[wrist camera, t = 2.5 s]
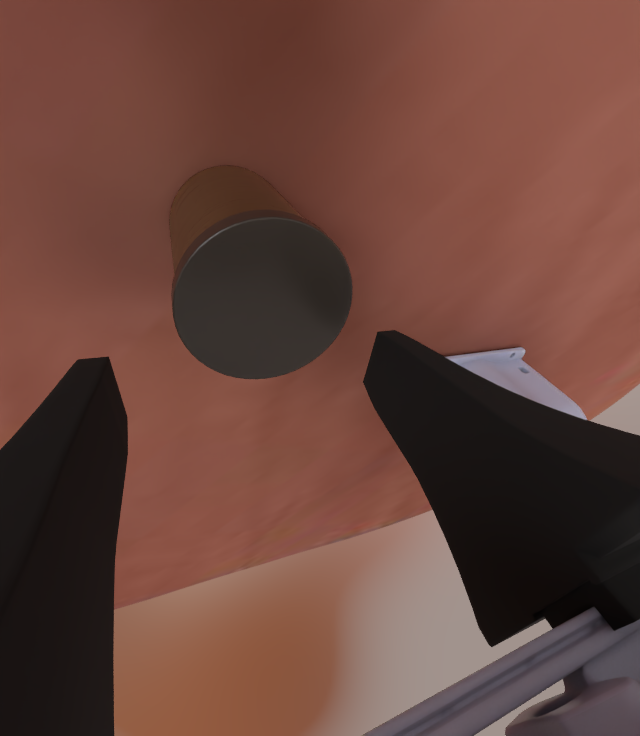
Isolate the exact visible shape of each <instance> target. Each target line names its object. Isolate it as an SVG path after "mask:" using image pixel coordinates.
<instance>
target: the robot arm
mask: <svg viewBox="0 0 640 736" xmlns="http://www.w3.org/2000/svg"><path fill="white" fill-rule="evenodd" d="M524 354H525V349H524V348H522V347H518V348H511V349H503V350H495V351H487V352H479V353H471V354H463V355H456V356H448V357H444V356H442V355H440V354H439V353H437V352H435V351H433V350H432V349H430V348H428V347H426V346H424V345H423V344H421V343H419V342H417V341H415V340H414V339H412V338H410V337H408V336H406V335H404V334H402V333H400V332H397V331H395V330H392V331H381V332H377V336H376V339H375V343H374V346H373V349H372V353H371V356H370V360H369V363H368V367H367V370H366V374H365V377H364V381H363V383H364V385H365V388H366V390H367V392H368V395H369V397H370V399H371V401H372V404H373V406H374V408H375V410H376V412H377V413H378V415H379V417H380V418H381V420H382V421H383V423H384V425H385V426H386V428H387V430H388V431H389V433H390V434H391V436H392V438H393V439H394V441H395V442H396V444H397V445H398V447H399V449H400V450H401V452H402V453H403V455H404V457H405V458H406V460H407V461H408V463H409V465H410V466H411V468H412V470H413V471H414V473H415V475H416V477H417V478H418V480H419V482H420V484H421V486H422V489H423V491H424V493H425V495H426V497H427V499H428V501H429V503H430V505H431V507H432V509H433V511H434V513H435V516H436V518H437V520H438V522H439V525H440V527H441V529H442V531H443V533H444V536H445V538H446V540H447V543H448V545H449V548H450V550H451V552H452V555H453V558H454V560H455V562H456V565H457V567H458V570H459V572H460V575H461V578H462V580H463V583H464V586H465V589H466V592H467V594H468V597H469V600H470V603H471V605H472V608H473V611H474V614H475V617H476V620H477V623H478V626H479V628H480V630H481V631H482V634H483V635H484V637H485V639H486V641H487V642H488V644H489V645H490V646H491V647H493V646H495V645H497V644H498V643H500V642H502V641H504V640H506V639H508V638H510V637H512V636H513V635H515V634H517V633H519V632H521V631H523V630H524V629H527V628H528V627H530V626H532V625H534V624H536V623H538V622H539V621H541V620H543V619H545V618H546V620H547V621H548V622H549V624H550V625H551V627H552V628H553V629H552V630H550V631H548V632H547V633H545V634H543V635H541V636H540V637H538V638H536V639H534V640H532V641H530V642H528V643H527V644H525V645H523V646H521V647H519V648H518V649H516V650H514V651H512V652H511V653H509V654H507V655H505V656H503V657H502V658H500V659H498V660H496V661H495V662H493V663H491V664H489V665H487V666H485V667H484V668H482V669H480V670H478V671H476V672H475V673H473V674H471V675H469V676H468V677H466V678H464V679H462V680H460V681H459V682H457V683H455V684H453V685H451V686H450V687H448V688H446V689H444V690H442V691H441V692H439V693H437V694H435V695H434V696H432V697H430V698H428V699H426V700H424V701H423V702H421V703H419V704H417V705H415V706H414V707H412V708H410V709H408V710H406V711H405V712H403V713H401V714H399V715H397V716H396V717H394V718H392V719H390V720H389V721H387V722H385V723H383V724H382V725H380V726H378V727H376V728H374V729H372V730H371V731H369V732H367V733H365V734H363V735H362V736H474V735H475V734H477V733H478V732H480V731H481V730H483V729H485V728H486V727H488V726H489V725H491V724H492V723H494V722H495V721H497V720H499V719H500V718H502V717H503V716H505V715H506V714H508V713H509V712H511V711H513V710H514V709H516V708H517V707H519V706H521V705H522V704H524V703H525V702H527V701H528V700H530V699H531V698H533V697H535V696H536V695H538V694H539V693H541V692H542V691H544V690H546V689H547V688H549V687H550V686H552V685H553V684H555V683H556V682H558V681H560V680H561V679H563V681H564V685H565V692H564V693H562V694H559V695H557V696H554V697H552V698H549V699H547V700H544V701H542V702H539V703H537V704H535V705H533V706H531V707H529V708H528V709H526V710H524V711H523V712H522V713H521V714H519V715H518V716H517V717H516V718H515V719H514V720H513V721H512V722H511V723H510V724H509V725H508V726H507V727H506V731H505V735H506V736H640V436H639V435H635V434H631V433H628V432H624V431H621V430H617V429H614V428H611V427H607V426H604V425H600V424H597V423H594V422H591V421H588V420H587V419H586V416H585V415H584V413H583V411H582V410H581V409H580V407H579V406H578V405H577V404H576V403H575V402H574V401H573V400H571V399H570V398H569V397H568V396H566V395H565V394H564V393H563V392H561V391H560V390H559V389H558V388H556V387H555V386H554V385H553V384H551V383H550V382H549V381H548V380H546V379H545V378H544V377H543V376H542V375H540V374H539V373H538V372H537V371H535V370H534V369H533V368H532V367H530V366H529V365H528V364H527V363H525V362H524V361H523V360H522V357H523V355H524ZM127 456H128V427H127V414H126V411H125V408H124V405H123V401H122V398H121V395H120V392H119V388H118V385H117V382H116V379H115V376H114V372H113V369H112V366H111V363H110V359H109V357H100V358H89V359H79V360H77V361H76V362H75V363H74V364H73V366H72V367H71V368H70V369H69V370H68V372H67V373H66V374H65V375H64V377H63V378H62V379H61V380H60V382H59V383H58V384H57V385H56V387H55V388H54V389H53V390H52V392H51V393H50V394H49V395H48V396H47V398H46V399H45V400H44V401H43V402H42V404H41V405H40V406H39V407H38V408H37V409H36V411H35V412H34V413H33V414H32V415H31V416H30V418H29V419H28V420H27V421H26V422H25V423H24V424H23V426H22V427H21V428H20V429H19V430H18V431H17V432H16V434H15V435H14V436H13V437H12V438H11V439H10V440H9V441H8V442H7V443H6V444H5V445H4V446H3V447H2V448H1V450H0V736H114V701H113V700H114V691H113V690H114V689H113V686H114V685H113V632H114V631H113V627H114V572H115V554H116V542H117V534H118V527H119V519H120V511H121V504H122V496H123V488H124V480H125V472H126V464H127Z"/></svg>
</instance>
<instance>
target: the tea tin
mask: <svg viewBox="0 0 640 736" xmlns="http://www.w3.org/2000/svg"><path fill="white" fill-rule="evenodd" d="M169 225H170V237H171V246H172V256H173V265H174V279H173V283H172V309H173V318H174V322H175V327H176V329H177V332H178V334H179V337H180V338H181V340H182V342H183V343H184V345H185V346H186V348H187V349H188V350H189V351H190V353H191V354H192V355H193V356H194V357H196V358H197V359H198V360H199V361H200V362H201V363H203V364H204V365H206V366H207V367H209V368H211V369H213V370H215V371H217V372H219V373H222V374H224V375H227V376H232V377H236V378H243V379H266V378H272V377H277V376H281V375H284V374H287V373H290V372H292V371H295V370H297V369H299V368H301V367H303V366H305V365H307V364H308V363H310V362H311V361H313V360H314V359H316V358H317V357H318V356H319V355H321V354H322V353H323V352H324V351H325V350H326V349H327V348H328V347H329V346H330V345H331V344H332V342H333V341H334V340H335V339H336V337H337V336H338V334H339V333H340V331H341V329H342V328H343V326H344V324H345V321H346V319H347V317H348V314H349V310H350V307H351V301H352V280H351V274H350V270H349V267H348V264H347V262H346V260H345V257H344V256H343V254H342V253H341V251H340V249H339V248H338V247H337V246H336V244H335V243H334V242H333V241H332V240H331V239H330V238H329V237H328V236H327V235H326V234H325V233H324V232H323V231H322V230H321V229H319V228H318V227H317V226H316V225H314V224H313V223H311V222H310V221H308V220H306V219H304V218H302V217H301V216H300V215H299V214H298V212H297V211H296V210H295V209H294V208H293V207H292V206H291V205H290V204H289V203H288V202H287V201H286V200H285V199H284V198H283V197H282V196H281V195H280V194H279V193H278V192H277V191H276V190H275V189H274V188H273V187H272V186H271V185H270V184H269V183H268V182H267V181H266V180H265V179H264V178H262V177H261V176H259V175H258V174H256V173H254V172H252V171H250V170H247V169H244V168H241V167H236V166H216V167H211V168H208V169H205V170H203V171H201V172H198V173H197V174H195V175H194V176H192V177H191V178H190V179H189V180H188V181H186V182H185V183H184V185H183V186H182V187H181V188H180V190H179V191H178V193H177V195H176V196H175V198H174V201H173V204H172V207H171V211H170V219H169Z"/></svg>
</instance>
